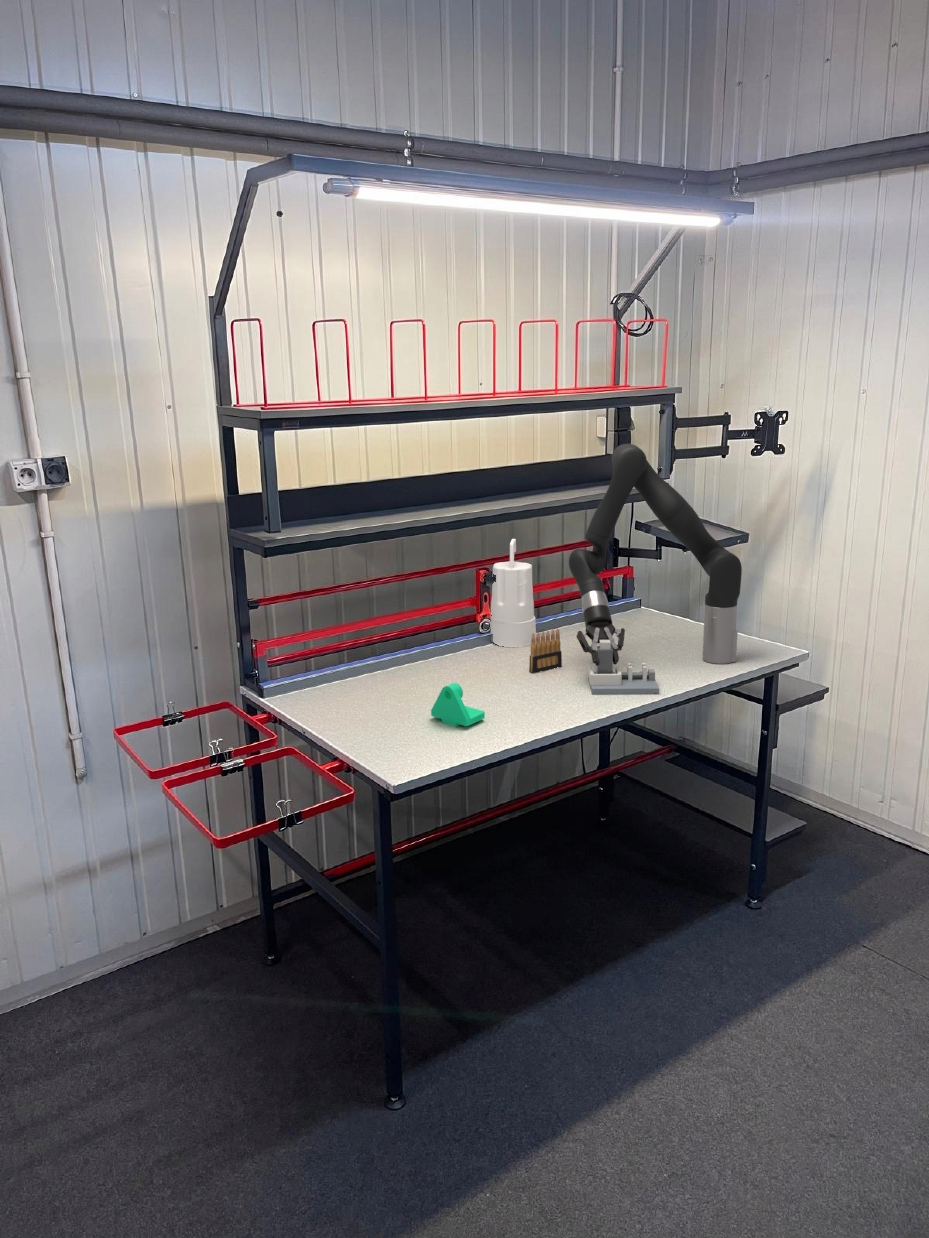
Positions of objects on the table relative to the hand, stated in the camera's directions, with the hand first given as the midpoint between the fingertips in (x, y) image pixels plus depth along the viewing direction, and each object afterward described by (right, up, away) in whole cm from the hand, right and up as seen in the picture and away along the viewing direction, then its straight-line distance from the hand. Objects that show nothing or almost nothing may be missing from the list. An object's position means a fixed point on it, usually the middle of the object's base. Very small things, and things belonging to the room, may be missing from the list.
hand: (606, 663), depth 248 cm
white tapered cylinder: (-23, +5, +49) cm, 54 cm away
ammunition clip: (-15, -3, +19) cm, 25 cm away
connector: (0, -3, +3) cm, 5 cm away
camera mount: (-41, -14, -18) cm, 47 cm away
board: (+5, -6, +3) cm, 9 cm away
